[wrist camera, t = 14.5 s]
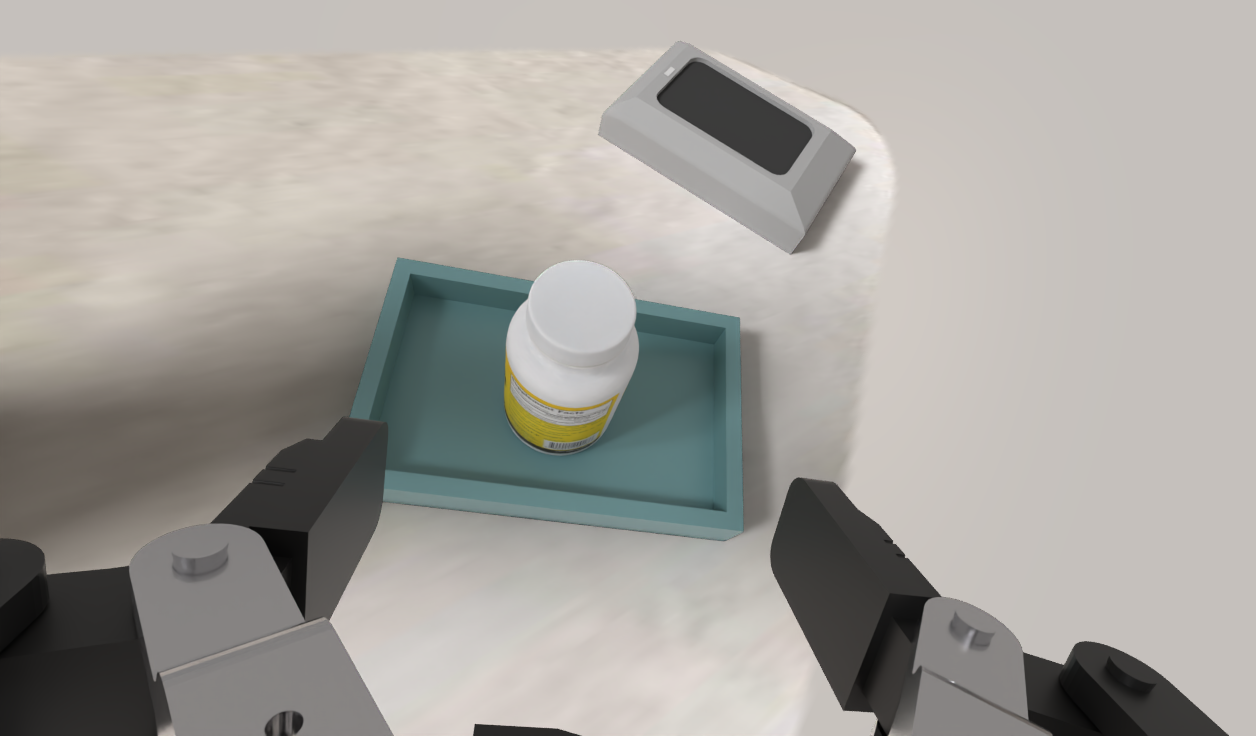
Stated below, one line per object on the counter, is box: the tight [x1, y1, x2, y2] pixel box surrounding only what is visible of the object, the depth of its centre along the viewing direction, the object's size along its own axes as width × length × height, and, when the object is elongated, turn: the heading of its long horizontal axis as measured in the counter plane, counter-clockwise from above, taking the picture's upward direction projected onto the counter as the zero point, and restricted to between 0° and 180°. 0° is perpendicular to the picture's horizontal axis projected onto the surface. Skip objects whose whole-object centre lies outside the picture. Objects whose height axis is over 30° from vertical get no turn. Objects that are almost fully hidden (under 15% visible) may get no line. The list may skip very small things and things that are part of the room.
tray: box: [349, 258, 744, 541], centre depth 30 cm, size 18×12×2 cm, turn 86°
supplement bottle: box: [504, 260, 639, 456], centre depth 26 cm, size 5×5×10 cm
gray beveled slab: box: [598, 41, 856, 254], centre depth 40 cm, size 10×4×15 cm
